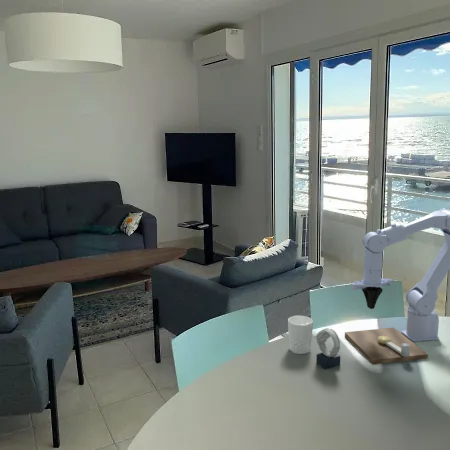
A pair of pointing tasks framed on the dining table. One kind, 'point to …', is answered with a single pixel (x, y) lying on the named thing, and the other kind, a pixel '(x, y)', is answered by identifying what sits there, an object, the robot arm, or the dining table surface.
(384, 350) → the brown wooden board
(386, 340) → the lever
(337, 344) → the watch
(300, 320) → the white cup
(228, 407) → the dining table surface
